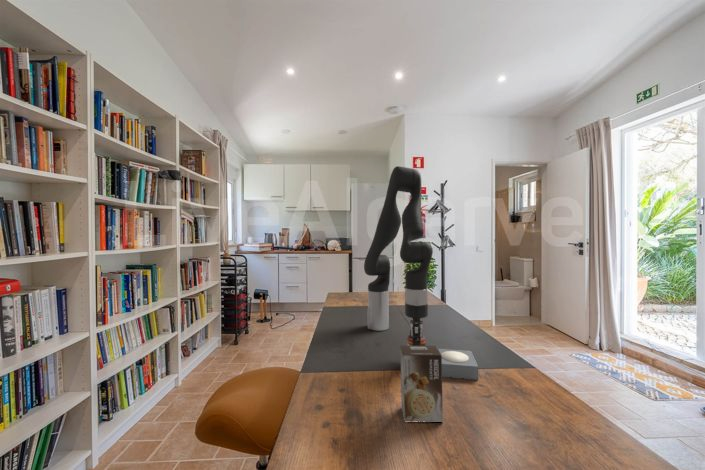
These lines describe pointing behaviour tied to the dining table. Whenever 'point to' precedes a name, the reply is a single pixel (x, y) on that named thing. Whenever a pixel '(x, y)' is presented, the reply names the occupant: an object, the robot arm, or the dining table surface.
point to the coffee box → (421, 383)
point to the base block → (458, 364)
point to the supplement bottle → (415, 340)
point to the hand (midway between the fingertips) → (416, 351)
